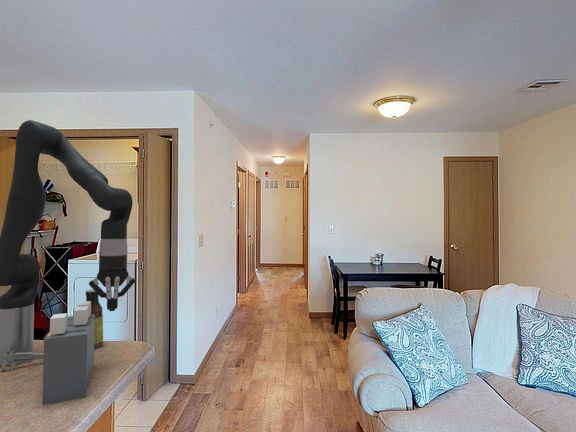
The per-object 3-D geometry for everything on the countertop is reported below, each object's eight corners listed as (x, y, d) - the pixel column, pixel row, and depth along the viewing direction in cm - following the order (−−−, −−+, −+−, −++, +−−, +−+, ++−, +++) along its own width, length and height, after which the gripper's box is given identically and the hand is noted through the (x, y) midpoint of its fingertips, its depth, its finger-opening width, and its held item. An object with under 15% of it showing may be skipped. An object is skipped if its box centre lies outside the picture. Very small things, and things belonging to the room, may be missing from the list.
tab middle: (73, 325, 88) (73, 310, 89) (75, 321, 92) (76, 307, 92) (86, 324, 90) (86, 309, 90) (88, 320, 93) (88, 306, 93)
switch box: (42, 405, 79) (44, 338, 80) (58, 371, 97) (59, 316, 97) (85, 397, 83) (87, 333, 83) (93, 366, 100) (95, 313, 101)
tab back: (76, 319, 94) (77, 305, 94) (79, 315, 98) (79, 301, 98) (89, 318, 95) (89, 304, 95) (90, 314, 99) (91, 301, 99)
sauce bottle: (102, 342, 120) (104, 287, 120) (103, 348, 114) (104, 291, 115) (81, 345, 116) (83, 289, 117) (81, 351, 111) (82, 292, 111)
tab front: (49, 334, 81) (50, 318, 81) (53, 329, 85) (53, 314, 85) (64, 333, 83) (64, 317, 83) (67, 328, 86) (67, 313, 86)
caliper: (1, 373, 95) (2, 351, 95) (1, 371, 96) (2, 350, 96) (83, 356, 108) (84, 337, 108) (83, 355, 109) (83, 336, 109)
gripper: (137, 251, 106) (135, 305, 106) (89, 252, 100) (88, 309, 100) (137, 254, 99) (136, 311, 99) (86, 255, 93) (85, 316, 93)
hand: (112, 310), depth 99 cm, fingers closed
